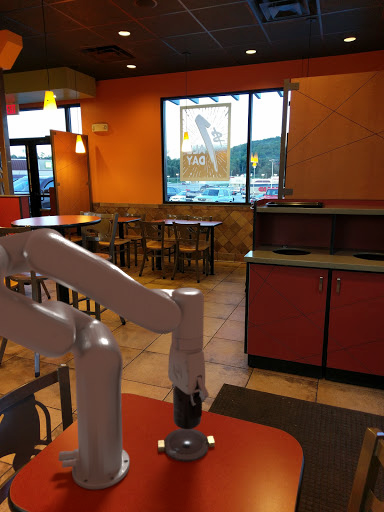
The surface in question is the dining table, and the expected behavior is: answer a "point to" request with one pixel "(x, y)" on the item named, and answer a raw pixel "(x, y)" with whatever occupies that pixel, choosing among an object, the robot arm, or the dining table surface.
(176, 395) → the supplement bottle
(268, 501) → the dining table surface
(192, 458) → the base
